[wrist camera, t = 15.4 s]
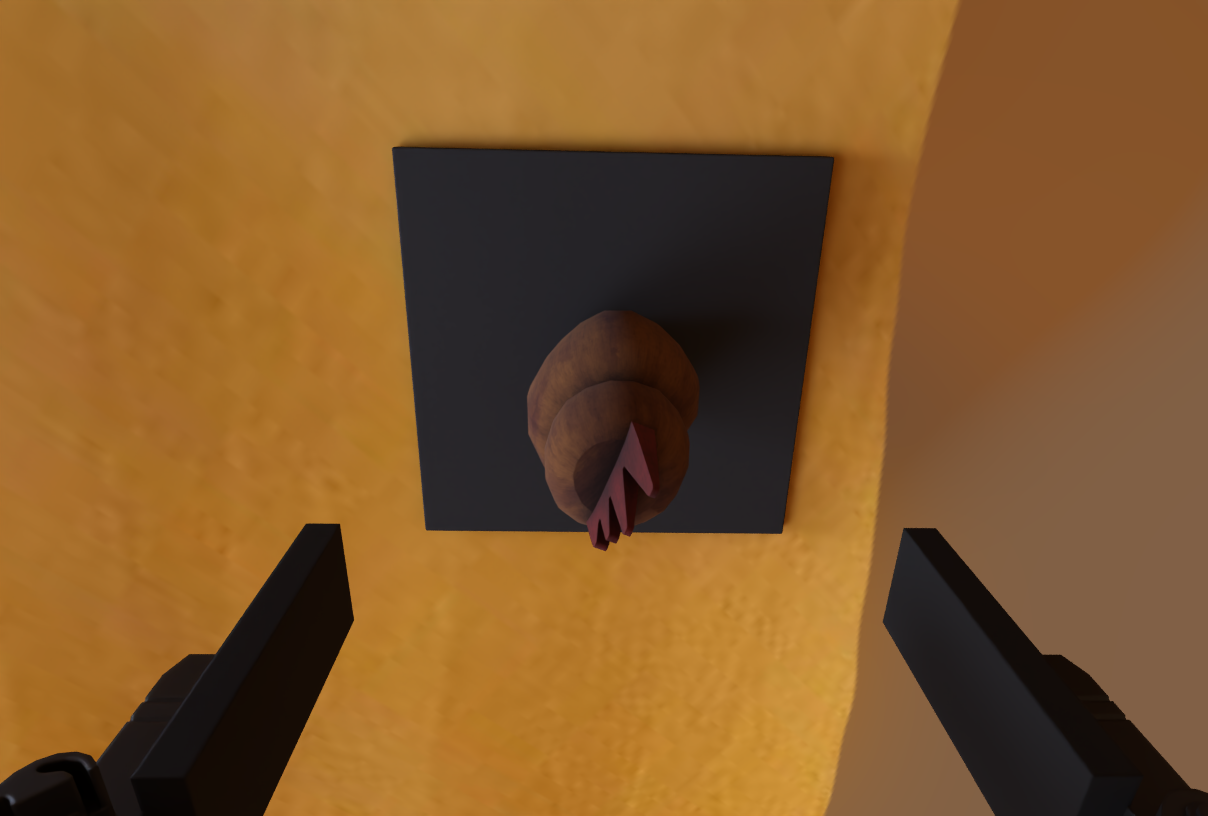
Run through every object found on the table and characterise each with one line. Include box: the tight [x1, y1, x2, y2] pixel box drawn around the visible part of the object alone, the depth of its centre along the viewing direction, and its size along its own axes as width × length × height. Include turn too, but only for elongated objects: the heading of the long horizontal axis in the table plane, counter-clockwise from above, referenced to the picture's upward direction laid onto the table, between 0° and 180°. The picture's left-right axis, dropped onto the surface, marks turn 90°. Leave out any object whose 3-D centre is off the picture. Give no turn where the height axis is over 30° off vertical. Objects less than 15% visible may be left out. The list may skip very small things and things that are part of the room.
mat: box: [392, 147, 834, 534], centre depth 32 cm, size 18×18×1 cm
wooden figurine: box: [527, 310, 700, 551], centre depth 25 cm, size 7×6×15 cm
